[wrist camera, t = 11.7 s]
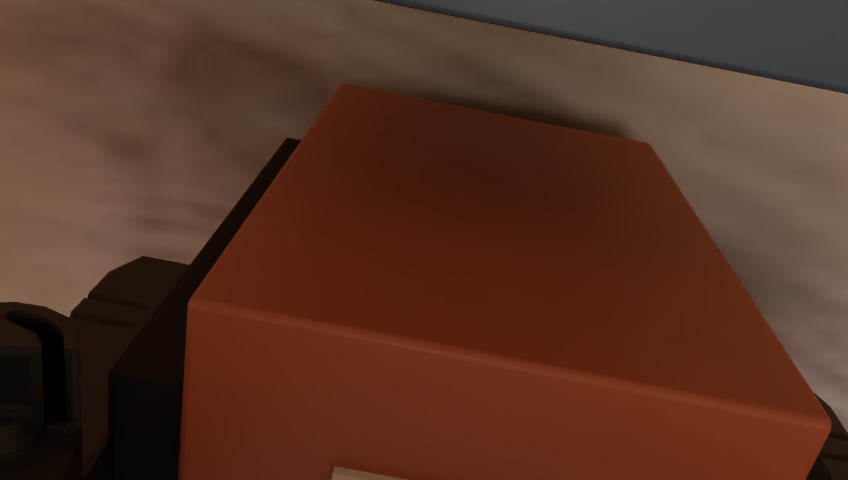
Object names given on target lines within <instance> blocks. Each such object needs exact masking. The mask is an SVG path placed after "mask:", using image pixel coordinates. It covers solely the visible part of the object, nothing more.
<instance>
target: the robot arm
mask: <svg viewBox="0 0 848 480" xmlns="http://www.w3.org/2000/svg"><path fill="white" fill-rule="evenodd" d="M301 141H302V140H296V139H291V138H286V140H285V141H284V142H283V144H282V145H281V146H280V147H279V149H278V150H277V151H276V153H275V154H274V155H273V157H272V158H271V159H270V161H269V162H268V163H267V165H266V166H265V167H264V169H263V170H262V171H261V172H260V174H259V175H258V176H257V178H256V179H255V180H254V182H253V183H252V184H251V186H250V187H249V188H248V190H247V191H246V192H245V193H244V195H243V196H242V197H241V199H240V200H239V201H238V203H237V204H236V205H235V207H234V208H233V209H232V211H231V212H230V213H229V215H228V216H227V217H226V218H225V220H224V221H223V222H222V224H221V225H220V226H219V228H218V229H217V230H216V232H215V233H214V234H213V236H212V237H211V238H210V239H209V241H208V242H207V243H206V245H205V246H204V247H203V249H202V250H201V251H200V253H199V254H198V255H197V257H196V258H195V259H194V261H193V262H192V263H191V264H190V265H187V264H182V263H177V262H172V261H167V260H161V259H156V258H151V257H146V256H142V257H140V258H138V259H136V260H133V261H131V262H129V263H127V264H125V265H123V266H120V267H118V268H116V269H114V270H112V271H110V272H109V273H108V274H107V275H106V276H105V277H104V278H103V279H102V280H101V281H100V282H99V283H98V284H97V285H96V286H95V287H94V288H93V289H92V290H91V291H90V293H89V295H88V298H84V299H83V300H82V301H81V302H80V303H79V304H78V305H77V306H76V307H75V308H74V309H73V310H72V311H71V315H70V317H67V316H64V315H62V314H60V313H58V312H56V311H53V310H51V309H49V308H47V307H44V306H37V305H31V304H25V303H18V302H1V303H0V480H178V469H179V451H180V433H181V416H182V398H183V380H184V362H185V345H186V327H187V309H188V302H189V300H190V298H191V297H192V295H193V294H194V293H195V291H196V290H197V288H198V287H199V285H200V284H201V283H202V281H203V280H204V278H205V277H206V276H207V274H208V273H209V271H210V270H211V268H212V267H213V266H214V264H215V263H216V261H217V260H218V258H219V257H220V256H221V254H222V253H223V251H224V250H225V249H226V247H227V246H228V244H229V243H230V241H231V240H232V239H233V237H234V236H235V234H236V233H237V231H238V230H239V229H240V227H241V226H242V224H243V223H244V222H245V220H246V219H247V217H248V216H249V214H250V213H251V212H252V210H253V209H254V207H255V206H256V205H257V203H258V202H259V200H260V199H261V197H262V196H263V195H264V193H265V192H266V190H267V189H268V187H269V186H270V185H271V183H272V182H273V180H274V179H275V178H276V176H277V175H278V173H279V172H280V170H281V169H282V168H283V166H284V165H285V163H286V162H287V160H288V159H289V158H290V156H291V155H292V153H293V152H294V151H295V149H296V148H297V146H298V145H299V143H300V142H301ZM813 393H814V392H813ZM814 395H815V396H816V398H817V399H818V401H819V402H820V404H821V405H822V407H823V408H824V410H825V411H826V413H827V414H828V416H829V417H830V419H831V431H830V433H829V435H828V437H827V439H826V441H825V443H824V445H823V447H822V449H821V451H820V453H819V454H818V456H817V458H816V460H815V462H814V464H813V466H812V468H811V470H810V472H809V474H808V476H807V478H806V480H848V433H847V432H846V430H845V429H844V427H843V425H842V424H841V422H840V421H839V419H838V418H837V416H836V415H835V413H834V412H833V410H832V409H831V407H830V406H828V405H827V404H826V403H825V402H824V401H823V400H822V399H820V398H819V397H818V396H817V395H816V394H815V393H814Z"/></svg>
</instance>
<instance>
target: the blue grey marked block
mask: <svg viewBox="0 0 848 480" xmlns="http://www.w3.org/2000/svg"><path fill="white" fill-rule="evenodd" d="M374 1H379V2H385V3H390V4H395V5H400V6H405V7H410V8H415V9H420V10H425V11H430V12H435V13H440V14H445V15H450V16H455V17H461V18H466V19H471V20H476V21H481V22H486V23H491V24H496V25H501V26H506V27H511V28H516V29H521V30H526V31H531V32H537V33H542V34H547V35H552V36H557V37H562V38H567V39H572V40H577V41H582V42H587V43H592V44H597V45H602V46H607V47H613V48H618V49H623V50H628V51H633V52H638V53H643V54H648V55H653V56H658V57H663V58H668V59H673V60H678V61H683V62H689V63H694V64H699V65H704V66H709V67H714V68H719V69H724V70H729V71H734V72H739V73H744V74H749V75H754V76H759V77H765V78H770V79H775V80H780V81H785V82H790V83H795V84H800V85H805V86H810V87H815V88H820V89H825V90H830V91H835V92H841V93H846V94H848V0H374Z"/></svg>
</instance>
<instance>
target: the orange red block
mask: <svg viewBox="0 0 848 480" xmlns="http://www.w3.org/2000/svg"><path fill="white" fill-rule="evenodd" d="M830 431H831V419H830V417H829V416H828V414H827V413H826V411H825V410H824V408H823V407H822V405H821V404H820V402H819V401H818V399H817V398H816V396H815V395H814V393H813V392H812V390H811V389H810V387H809V385H808V384H807V382H806V381H805V379H804V378H803V376H802V375H801V373H800V372H799V370H798V369H797V367H796V366H795V364H794V363H793V361H792V360H791V358H790V357H789V355H788V354H787V352H786V350H785V349H784V347H783V346H782V344H781V343H780V341H779V340H778V338H777V337H776V335H775V334H774V332H773V331H772V329H771V328H770V326H769V325H768V323H767V322H766V320H765V319H764V317H763V316H762V314H761V312H760V311H759V309H758V308H757V306H756V305H755V303H754V302H753V300H752V299H751V297H750V296H749V294H748V293H747V291H746V290H745V288H744V287H743V285H742V284H741V282H740V281H739V279H738V278H737V276H736V274H735V273H734V271H733V270H732V268H731V267H730V265H729V264H728V262H727V261H726V259H725V258H724V256H723V255H722V253H721V252H720V250H719V249H718V247H717V246H716V244H715V243H714V241H713V240H712V238H711V236H710V235H709V233H708V232H707V230H706V229H705V227H704V226H703V224H702V223H701V221H700V220H699V218H698V217H697V215H696V214H695V212H694V211H693V209H692V208H691V206H690V205H689V203H688V202H687V200H686V198H685V197H684V195H683V194H682V192H681V191H680V189H679V188H678V186H677V185H676V183H675V182H674V180H673V179H672V177H671V176H670V174H669V173H668V171H667V170H666V168H665V167H664V165H663V163H662V162H661V160H660V159H659V157H658V156H657V154H656V153H655V151H654V150H653V148H652V147H651V145H649V144H648V143H644V142H639V141H634V140H628V139H623V138H618V137H613V136H608V135H603V134H598V133H593V132H588V131H583V130H578V129H572V128H567V127H562V126H557V125H552V124H547V123H542V122H537V121H532V120H527V119H522V118H516V117H511V116H506V115H501V114H496V113H491V112H486V111H481V110H476V109H471V108H466V107H461V106H455V105H450V104H445V103H440V102H435V101H430V100H425V99H420V98H415V97H410V96H405V95H399V94H394V93H389V92H384V91H379V90H374V89H369V88H364V87H359V86H354V85H349V84H341V85H340V87H339V88H338V89H337V91H336V92H335V94H334V95H333V97H332V98H331V99H330V101H329V102H328V104H327V105H326V107H325V108H324V109H323V111H322V112H321V114H320V115H319V116H318V118H317V119H316V121H315V122H314V124H313V125H312V126H311V128H310V129H309V131H308V132H307V133H306V135H305V136H304V138H303V139H302V141H301V142H300V143H299V145H298V146H297V148H296V149H295V151H294V152H293V153H292V155H291V156H290V158H289V159H288V160H287V162H286V163H285V165H284V166H283V168H282V169H281V170H280V172H279V173H278V175H277V176H276V178H275V179H274V180H273V182H272V183H271V185H270V186H269V187H268V189H267V190H266V192H265V193H264V195H263V196H262V197H261V199H260V200H259V202H258V203H257V205H256V206H255V207H254V209H253V210H252V212H251V213H250V214H249V216H248V217H247V219H246V220H245V222H244V223H243V224H242V226H241V227H240V229H239V230H238V231H237V233H236V234H235V236H234V237H233V239H232V240H231V241H230V243H229V244H228V246H227V247H226V249H225V250H224V251H223V253H222V254H221V256H220V257H219V258H218V260H217V261H216V263H215V264H214V266H213V267H212V268H211V270H210V271H209V273H208V274H207V276H206V277H205V278H204V280H203V281H202V283H201V284H200V285H199V287H198V288H197V290H196V291H195V293H194V294H193V295H192V297H191V298H190V300H189V302H188V309H187V327H186V345H185V362H184V380H183V398H182V416H181V433H180V451H179V469H178V480H806V478H807V476H808V474H809V472H810V470H811V468H812V466H813V464H814V462H815V460H816V458H817V456H818V454H819V453H820V451H821V449H822V447H823V445H824V443H825V441H826V439H827V437H828V435H829V433H830Z"/></svg>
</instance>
